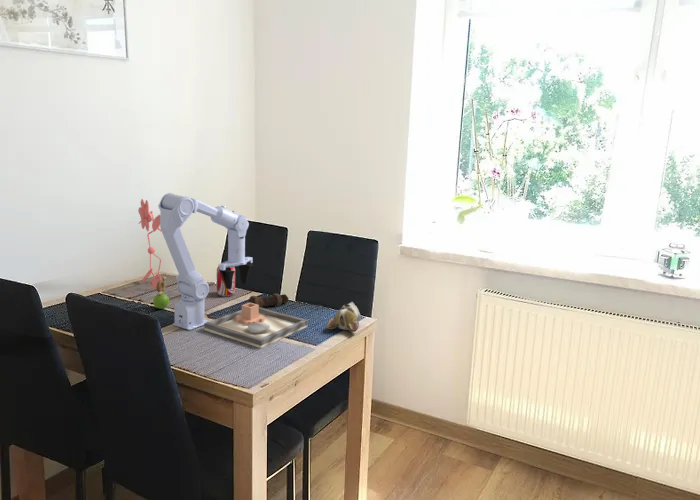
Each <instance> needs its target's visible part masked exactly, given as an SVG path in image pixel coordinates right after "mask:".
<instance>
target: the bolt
mask: <svg viewBox="0 0 700 500" xmlns="http://www.w3.org/2000/svg"><path fill="white" fill-rule="evenodd" d="M288 301H289V296H288V295H287V294H286V293H285V294H280V293H276V292H275V293H273V294H272V295H271V296H266V297H258V296H255V295H250V297H249V299H248V302H247V303H253V304H257V305H259V307H261V308H265V307H269V306H274V307H280V306H281V305H282V304H286V303H288Z"/></svg>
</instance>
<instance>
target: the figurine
mask: <svg viewBox="0 0 700 500" xmlns="http://www.w3.org/2000/svg"><path fill="white" fill-rule="evenodd" d="M149 210H150V206H149V201H148V199H146V200H145V201H144V199H143V198H141V200H140V207H138V210H137V211H138V214H139V215H140V216H139V217H140V221H139V222H138V224H139V225H140V224H141V228H142V230H144V229H145V230H146V232H148V233H147V235H146V236H147V240H148V241H147V242H148V249H147V253H148V254H149V270H148V271H147V272H146V274H145V275H144V277H142V280H141V283H144V282H145V281H146V280H147V279H148V278H149V277H150V276H151V275H152V276H153V277H152V281H151V288H152V290H153V291H155V290H157V288H156V287H157V283H158V281H160V280H162V275H161V273H160V268H161V264H162V259H161V258H160V257H159V256H157V255H156V254H155V251H156V249H155V247H153V246H151V242H150V237H149V236H150V234H152V233H154V232H157V230H158V231H160V232H161V233H162V231H161V228H160V214H157V216H155V217H154V215H153V210H150V211H149ZM150 223H151V228H152V230H151V231H150ZM149 231H150V232H149ZM152 255H153V256H155V257H156V258H157V259H158V260H159V266H158V270H157V274H156V275H155V273H154V272H153V271H154V268H152V260H151V259H152ZM124 290H126V291H128V292H129V293H131V290H129V289H128V290H127V289H126V288H125V289H124ZM132 294H135V292H132ZM136 294H138V295H141V293H139V292H136Z"/></svg>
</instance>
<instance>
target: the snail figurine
mask: <svg viewBox="0 0 700 500" xmlns="http://www.w3.org/2000/svg"><path fill="white" fill-rule="evenodd" d="M162 275H163V276H162V277H161V280H160V281H158V283H157V287H156V292H157V294H155V296H154V297H153V300H152V304H153V306H154V307H155V308H157V309H159V310H162V309H165V308H167V307H168V305H169V304H170V298H169V296H168V295H167V294H165V293H164V292H165V290H166V286H167V285H166V280H167V277H166V275H167V273H164V272H162Z"/></svg>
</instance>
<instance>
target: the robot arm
mask: <svg viewBox="0 0 700 500" xmlns="http://www.w3.org/2000/svg"><path fill="white" fill-rule="evenodd" d="M158 203H159V204H158V205H157V206H158V209H159V211H160V226H159V229H160V230H161V231H162V232H161V231H160V232H161V234H162V236H163V239H164V240H165V243H166V245H167V248H168V251H169V253H170V255H171V258H172V260H173V262H174V265H175V268H176V270H177V273H178V274H177V275H176V277H175V278H176V281H177V282H176V283H177V284H176V285H177V290H178V292H179V293H180V297H181V299H180V301H178V302H176V303H175V304H174V308H173V309H174V322H173V323H172V325H173V326H175V327H178V328H182V329H185V330H188V331H191V330H193V329H196V328H199V327H202V326H204V323H206V322H209V321H210V320H207V319H205V305H206V304H205V300H206V297H207V296H208V295H209V293H210V286H209V284H208V282H207V281H205V280H204V277H203V275H201V273H200V272H199V271H198V270H197V269H196V267H195V264H194V262H193V259H192V256H191V254H190V251H189V248H188V246H187V243H186V240H185V238H184V235H183V233H182V230H181V227H182V226H183V225H184V224H185V222H186V221H187V219H188V218H190V216H191V215H192V213H193V214H196V212H198V213H199V214H203V215H205V216H208V217H210V220H211V221H212V222H213V223H215V224H217V225H219V226H222V227H224V228H225V229H227V231H228V232H227V236H228V237H227V241H228V242H227V243H228V244H227V247H228V248H227V253H228V254H227V260H226V261H224V262H221V263H222V264H220V263H218V264H219V271H220V273H221V275H222V277H223V279H224V282H225V286H226V288H228V289H231V288H232V279H233V275H234V272H235V273H236V270H235V271H233V270H231V269H230V268H232V267H234V268H236V267H238V268H239V273H240V275H239V276H240V277H239V278H240V283H241V284H243V285H247V284H248V281H249V277H250V273H251V271H252V270H253V268H254V264H253V262H254V261H253V257H251V256H246V235H247V231H248V229H249V225H250V223H249V221H248V219H247V217H246V216H245V215H241V214H238V213H237V211H235V210H230V209H228V208H227V206H225V205H217V206H215V207H214V206H212V205H209V204H207V203H205V202H203V201H201V200H199V199H198V198H197V199H196V198H193V197H189V196H183V195H178V194H175V193H171V192H168V193H165V194H164V195H163V196H162V197H161V199H160V201H159V202H158Z"/></svg>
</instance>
